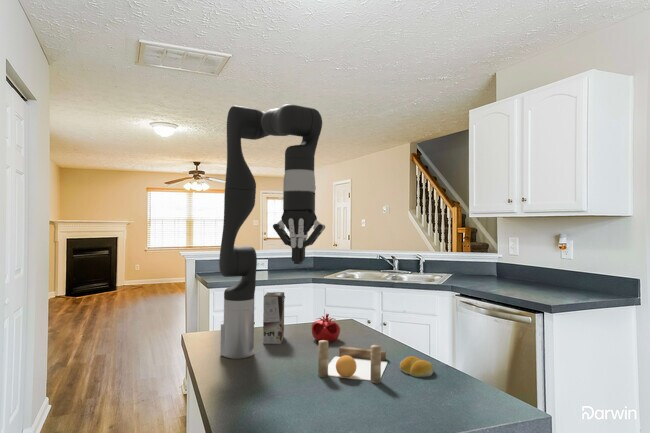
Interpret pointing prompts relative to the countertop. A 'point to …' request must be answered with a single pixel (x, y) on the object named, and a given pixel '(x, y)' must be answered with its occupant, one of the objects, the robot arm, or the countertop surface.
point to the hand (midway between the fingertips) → (298, 263)
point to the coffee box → (273, 318)
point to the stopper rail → (359, 353)
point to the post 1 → (323, 358)
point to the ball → (346, 366)
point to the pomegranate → (325, 329)
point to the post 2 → (375, 363)
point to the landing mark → (361, 369)
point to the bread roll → (416, 367)
